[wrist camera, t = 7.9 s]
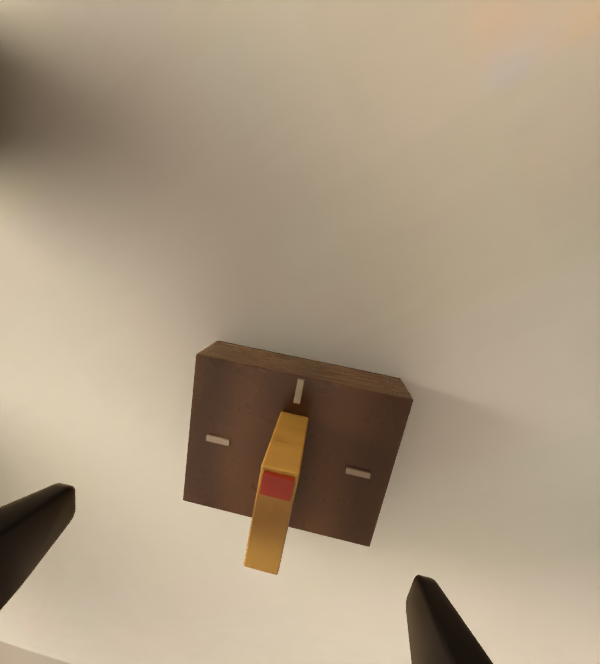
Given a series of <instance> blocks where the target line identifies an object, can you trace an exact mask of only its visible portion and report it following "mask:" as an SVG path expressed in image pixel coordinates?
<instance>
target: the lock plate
mask: <svg viewBox="0 0 600 664" xmlns="http://www.w3.org/2000/svg"><path fill="white" fill-rule="evenodd" d="M412 402H413V399H412V397H411V395H410V394H409V392H408V390H407V389H406V387H405V385H404V384H403V382H402V380H401V379H400V378H396V377H391V376H386V375H381V374H376V373H371V372H367V371H362V370H357V369H352V368H347V367H342V366H337V365H333V364H328V363H323V362H318V361H313V360H308V359H304V358H299V357H294V356H289V355H284V354H279V353H274V352H270V351H265V350H260V349H255V348H250V347H245V346H240V345H236V344H231V343H226V342H221V341H217V342H215V343H213V344H212V345H210V346H209V347H207V348H206V349H204V350H202V351H201V352H199V353H198V354H197V355H196V365H195V376H194V387H193V398H192V409H191V420H190V431H189V442H188V453H187V464H186V474H185V485H184V496H183V500H184V501H188V502H192V503H196V504H200V505H204V506H208V507H212V508H216V509H220V510H224V511H228V512H232V513H236V514H240V515H244V516H248V517H252V516H253V510H254V504H255V499H256V493H257V488H258V482H259V476H260V471H261V465H262V462H263V460H264V457H265V454H266V451H267V449H268V446H269V443H270V440H271V438H272V435H273V432H274V429H275V427H276V424H277V421H278V418H279V416H280V413H281V412H287V413H291V414H295V415H300V416H304V417H308V418H309V421H308V427H307V433H306V439H305V445H304V451H303V457H302V463H301V469H300V475H299V479H298V484H297V488H296V493H295V498H294V502H293V507H292V511H291V516H290V521H289V525H288V527H292V528H296V529H300V530H304V531H308V532H312V533H316V534H320V535H324V536H328V537H332V538H336V539H340V540H344V541H348V542H352V543H356V544H360V545H364V546H368V547H369V546H370V543H371V540H372V536H373V533H374V530H375V526H376V523H377V520H378V516H379V513H380V509H381V506H382V503H383V499H384V496H385V493H386V489H387V486H388V483H389V479H390V476H391V473H392V469H393V466H394V463H395V459H396V456H397V453H398V449H399V446H400V442H401V439H402V436H403V432H404V429H405V426H406V422H407V419H408V416H409V412H410V409H411V406H412Z"/></svg>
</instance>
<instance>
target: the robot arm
mask: <svg viewBox="0 0 600 664" xmlns="http://www.w3.org/2000/svg"><path fill="white" fill-rule="evenodd" d="M74 513H75V488H74V487H73V486H70V485H67V484H63V483H57V484H54V485H51V486H49V487H47V488H44V489H42V490H40V491H37V492H35V493H33V494H30V495H28V496H26V497H23V498H21V499H19V500H16V501H14V502H12V503H9V504H7V505H5V506H2V507H0V610H1V609H2V608H3V606H4V605H5V604H6V603H7V602H8V601H9V600H10V598H11V597H12V596H13V595H14V594H15V593H16V591H17V590H18V589H19V588H20V587H21V585H22V584H23V583H24V582H25V580H26V579H27V578H28V576H29V575H30V574H31V573H32V571H33V570H34V569H35V567H36V566H37V565H38V563H39V562H40V561H41V559H42V558H43V557H44V556H45V554H46V553H47V552H48V550H49V549H50V548H51V546H52V545H53V544H54V542H55V541H56V540H57V538H58V537H59V536H60V535H61V533H62V532H63V531H64V529H65V528H66V527H67V525H68V524H69V523H70V521H71V520H72V518H73V516H74ZM406 614H407V623H408V633H409V642H410V651H411V661H412V664H493V663H492V661H491V660H490V658H489V657H488V656H487V654H486V653H485V651H484V650H483V648H482V647H481V646H480V644H479V643H478V641H477V640H476V638H475V637H474V635H473V634H472V633H471V631H470V630H469V628H468V627H467V625H466V624H465V623H464V621H463V620H462V618H461V617H460V615H459V614H458V612H457V611H456V610H455V608H454V607H453V605H452V604H451V602H450V601H449V600H448V598H447V597H446V595H445V594H444V592H443V591H442V590H441V588H440V587H439V585H438V584H437V583H436V581H435V580H433V579H432V578H429V577H425V576H421V575H417V576H416V577H415V578H414V581H413V583H412V586H411V588H410V591H409V594H408V596H407V600H406Z"/></svg>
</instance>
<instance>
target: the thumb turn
mask: <svg viewBox="0 0 600 664" xmlns="http://www.w3.org/2000/svg"><path fill="white" fill-rule="evenodd" d="M308 421H309V418H308V417H304V416H300V415H295V414H291V413H287V412H281V413H280V416H279V418H278V421H277V424H276V427H275V429H274V432H273V435H272V438H271V440H270V443H269V446H268V449H267V451H266V454H265V457H264V460H263V462H262V465H261V471H260V476H259V482H258V488H257V493H256V499H255V504H254V510H253V516H252V521H251V527H250V533H249V538H248V544H247V550H246V555H245V561H244V566H246V567H249V568H253V569H257V570H260V571H264V572H268V573H272V574H275V575H277V574H278V571H279V567H280V562H281V558H282V553H283V548H284V544H285V539H286V534H287V530H288V525H289V521H290V516H291V511H292V507H293V502H294V498H295V493H296V488H297V484H298V479H299V475H300V469H301V463H302V457H303V451H304V445H305V439H306V433H307V427H308Z"/></svg>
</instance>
